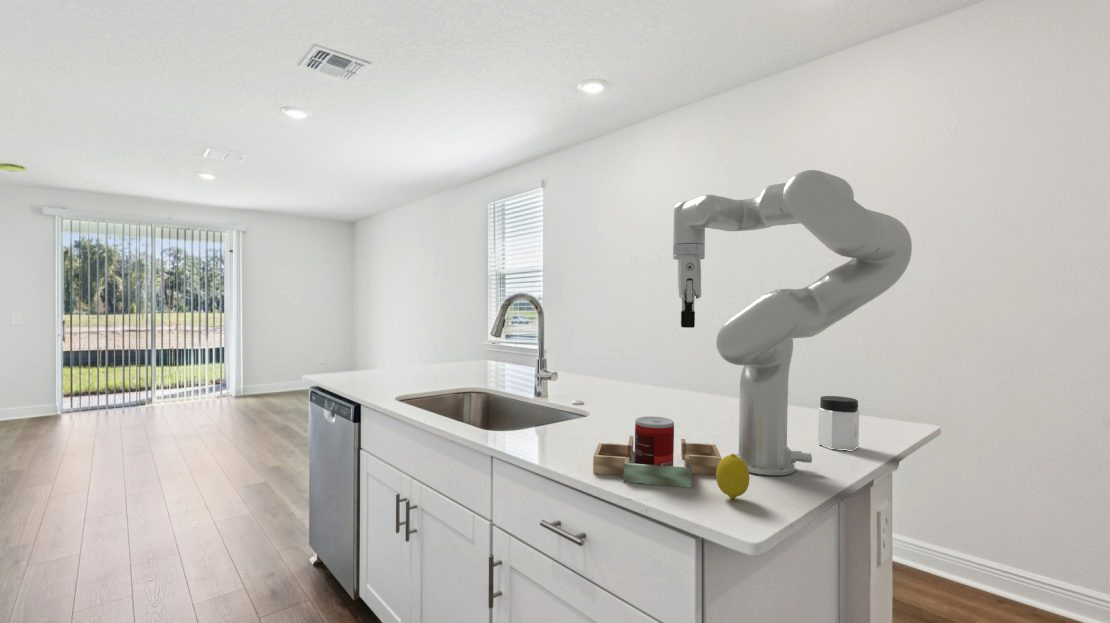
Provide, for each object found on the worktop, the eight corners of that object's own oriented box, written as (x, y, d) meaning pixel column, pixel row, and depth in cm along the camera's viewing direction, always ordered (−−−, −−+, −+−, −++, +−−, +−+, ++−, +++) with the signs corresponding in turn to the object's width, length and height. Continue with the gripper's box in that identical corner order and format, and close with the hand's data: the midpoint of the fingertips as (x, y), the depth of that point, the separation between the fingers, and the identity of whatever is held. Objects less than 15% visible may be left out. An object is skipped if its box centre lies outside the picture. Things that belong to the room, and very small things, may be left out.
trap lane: (713, 456, 116) (713, 440, 116) (727, 490, 94) (727, 471, 94) (602, 448, 121) (602, 433, 121) (590, 479, 99) (590, 461, 99)
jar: (850, 453, 120) (851, 403, 120) (814, 446, 126) (815, 398, 126) (862, 447, 126) (863, 398, 126) (826, 440, 132) (827, 394, 132)
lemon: (733, 507, 86) (733, 459, 86) (709, 496, 91) (709, 451, 91) (756, 501, 89) (756, 456, 89) (731, 491, 94) (732, 448, 94)
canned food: (674, 471, 105) (675, 417, 105) (671, 483, 98) (672, 426, 97) (637, 467, 107) (638, 415, 107) (631, 478, 100) (632, 422, 100)
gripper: (707, 249, 117) (706, 328, 117) (701, 256, 132) (700, 326, 132) (674, 249, 119) (673, 328, 119) (672, 256, 133) (671, 326, 133)
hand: (687, 327), depth 125 cm, fingers closed
